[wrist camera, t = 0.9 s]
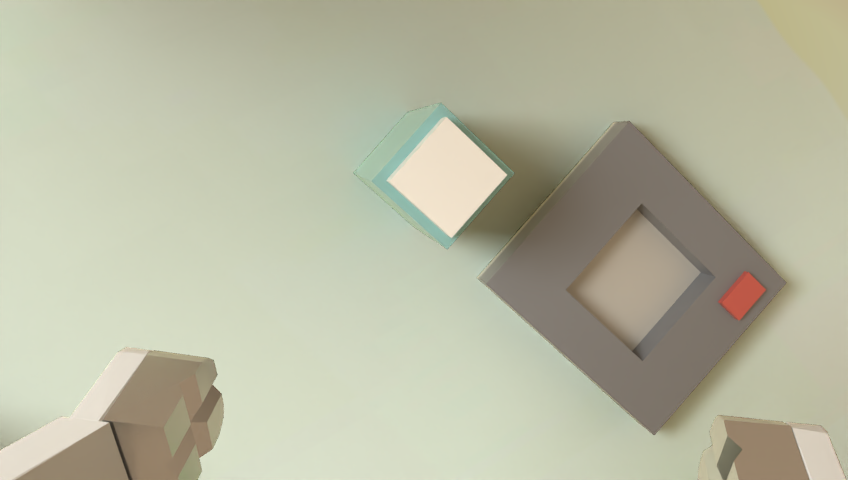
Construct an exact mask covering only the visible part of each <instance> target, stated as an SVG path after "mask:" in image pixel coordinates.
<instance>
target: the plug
mask: <svg viewBox="0 0 848 480" xmlns="http://www.w3.org/2000/svg"><path fill="white" fill-rule="evenodd" d="M354 174H355V175H356V176H357V177H358V178H359V179H360V180H362V181H363V182H364V183H365V184H366V185H367V186H368V187H369V188H370V189H372V190H373V191H374V192H375V193H376V194H377V195H378V196H379V197H381V198H382V199H383V200H384V201H385V202H386V203H387V204H388V205H389V206H391V207H392V208H393V209H394V210H395V211H396V212H397V213H398V214H400V215H401V216H402V217H403V218H404V219H405V220H406V221H407V222H408V223H410V224H411V225H412V226H413V227H414V228H416V229H417V230H419V231H420V232H422V233H423V234H425V235H426V236H428V237H429V238H431V239H432V240H434V241H435V242H437V243H438V244H440V245H441V246H443V247H444V248H446V249H448V248H449V247H450V246H451V245H452V244H453V242H454V241H455V240H456V239H457V238H458V237H459V236H460V235H461V233H462V232H463V231H464V230H465V229H466V228H467V227H468V225H469V224H470V223H471V222H472V221H473V220H474V219H475V218H476V216H477V215H478V214H479V213H480V212H481V211H482V210H483V208H484V207H485V206H486V205H487V204H488V203H489V202H490V201H491V199H492V198H493V197H494V196H495V195H496V194H497V193H498V191H499V190H500V189H501V188H502V187H503V186H504V185H505V184H506V182H507V181H508V180H509V179H510V178H511V177H512V176H513V174H514V172H513V171H512V170H511V169H510V168H509V167H508V166H507V165H506V164H505V163H504V162H502V161H501V160H500V159H499V158H498V157H497V156H496V155H495V154H494V153H493V152H492V151H491V150H490V149H489V148H488V147H487V146H486V145H485V144H484V143H483V142H482V141H481V140H480V139H478V138H477V137H476V136H475V135H474V134H473V133H472V132H471V131H470V130H469V129H468V128H467V127H466V126H465V125H464V124H463V123H462V122H461V121H460V120H459V119H458V118H457V117H455V116H454V115H453V114H452V113H451V112H450V111H449V110H448V109H447V108H446V107H445V106H444V105H443V104H442V103H438V104H434V105H431V106H427V107H424V108H420V109H416V110H413V111H409V112H407V113H406V114H405V115H404V117H403V118H402V119H401V120H400V121H399V122H398V123H397V124H396V126H395V127H394V128H393V129H392V130H391V131H390V132H389V133H388V135H387V136H386V137H385V138H384V139H383V140H382V141H381V142H380V144H379V145H378V146H377V147H376V148H375V149H374V150H373V151H372V153H371V154H370V155H369V156H368V157H367V158H366V159H365V160H364V162H363V163H362V164H361V165H360V166H359V167H358V168H357V169H356V171H355V172H354Z"/></svg>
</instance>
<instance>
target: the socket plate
mask: <svg viewBox="0 0 848 480" xmlns="http://www.w3.org/2000/svg"><path fill="white" fill-rule="evenodd" d="M477 278H478V279H479V280H480V281H481V282H482V283H483V284H484V285H485V286H486V287H488V288H489V289H490V290H491V291H492V292H493V293H494V294H495V295H497V296H498V297H499V298H500V299H501V300H502V301H503V302H504V303H505V304H507V305H508V306H509V307H510V308H511V309H512V310H513V311H514V312H515V313H517V314H518V315H519V316H520V317H521V318H522V319H523V320H524V321H525V322H527V323H528V324H529V325H530V326H531V327H532V328H533V329H534V330H535V331H537V332H538V333H539V334H540V335H541V336H542V337H543V338H544V339H546V340H547V341H548V342H549V343H550V344H551V345H552V346H553V347H554V348H556V349H557V350H558V351H559V352H560V353H561V354H562V355H563V356H564V357H566V358H567V359H568V360H569V361H570V362H571V363H572V364H573V365H574V366H576V367H577V368H578V369H579V370H580V371H581V372H582V373H583V374H585V375H586V376H587V377H588V378H589V379H590V380H591V381H592V382H593V383H595V384H596V385H597V386H598V387H599V388H600V389H601V390H602V391H603V392H605V393H606V394H607V395H608V396H609V397H610V398H611V399H612V400H613V401H615V402H616V403H617V404H618V405H619V406H620V407H621V408H622V409H624V410H625V411H626V412H627V413H628V414H629V415H630V416H631V417H632V418H634V419H635V420H636V421H637V422H638V423H639V424H640V425H642V426H643V427H644V428H645V429H647V430H648V431H649V432H650V433H652V434H653V435H655V434H656V433H657V432H658V431H659V429H660V428H661V427H662V426H663V425H664V424H665V422H666V421H667V420H668V419H669V418H670V417H671V415H672V414H673V413H674V412H675V411H676V410H677V409H678V407H679V406H680V405H681V404H682V403H683V402H684V400H685V399H686V398H687V397H688V396H689V395H690V394H691V392H692V391H693V390H694V389H695V388H696V387H697V385H698V384H699V383H700V382H701V381H702V380H703V379H704V377H705V376H706V375H707V374H708V373H709V372H710V370H711V369H712V368H713V367H714V366H715V365H716V364H717V362H718V361H719V360H720V359H721V358H722V357H723V355H724V354H725V353H726V352H727V351H728V350H729V349H730V347H731V346H732V345H733V344H734V343H735V342H736V340H737V339H738V338H739V337H740V336H741V335H742V334H743V332H744V331H745V330H746V329H747V328H748V327H749V325H750V324H751V323H752V322H753V321H754V320H755V319H756V317H757V316H758V315H759V314H760V313H761V312H762V310H763V309H764V308H765V307H766V306H767V305H768V304H769V302H770V301H771V300H772V299H773V298H774V297H775V295H776V294H777V293H778V292H779V291H780V290H781V289H782V287H783V286H784V285H785V284H786V282H785V281H784V280H783V279H782V278H781V277H780V276H779V275H778V274H777V272H776V271H775V270H774V269H773V268H772V267H771V266H770V265H769V264H768V263H767V262H766V261H765V260H764V259H763V258H762V257H761V256H760V255H759V254H758V253H757V252H756V251H755V250H754V249H753V248H752V247H751V246H750V245H749V244H748V243H747V242H746V241H745V240H744V238H743V237H742V236H741V235H740V234H739V233H738V232H737V231H736V230H735V229H734V228H733V227H732V226H731V225H730V224H729V223H728V222H727V221H726V220H725V219H724V218H723V217H722V216H721V215H720V214H719V213H718V212H717V211H716V210H715V209H714V208H713V207H712V206H711V205H710V203H709V202H708V201H707V200H706V199H705V198H704V197H703V196H702V195H701V194H700V193H699V192H698V191H697V190H696V189H695V188H694V187H693V186H692V185H691V184H690V183H689V182H688V181H687V180H686V179H685V178H684V177H683V176H682V175H681V174H680V173H679V172H678V171H677V169H676V168H675V167H674V166H673V165H672V164H671V163H670V162H669V161H668V160H667V159H666V158H665V157H664V156H663V155H662V154H661V153H660V152H659V151H658V150H657V149H656V148H655V147H654V146H653V145H652V144H651V143H650V142H649V141H648V140H647V139H646V138H645V137H644V136H643V134H642V133H641V132H640V131H639V130H638V129H637V128H636V127H635V126H634V125H633V124H632V123H631V122H630V121H623V122H613V124H612V125H611V126H610V127H609V128H608V129H607V130H606V131H605V133H604V134H603V135H602V136H601V137H600V138H599V139H598V141H597V142H596V143H595V144H594V145H593V146H592V147H591V149H590V150H589V151H588V152H587V153H586V154H585V155H584V156H583V158H582V159H581V160H580V161H579V162H578V163H577V164H576V166H575V167H574V168H573V169H572V170H571V171H570V172H569V174H568V175H567V176H566V177H565V178H564V179H563V180H562V181H561V183H560V184H559V185H558V186H557V187H556V188H555V189H554V191H553V192H552V193H551V194H550V195H549V196H548V197H547V199H546V200H545V201H544V202H543V203H542V204H541V205H540V206H539V208H538V209H537V210H536V211H535V212H534V213H533V214H532V216H531V217H530V218H529V219H528V220H527V221H526V222H525V224H524V225H523V226H522V227H521V228H520V229H519V230H518V231H517V233H516V234H515V235H514V236H513V237H512V238H511V239H510V241H509V242H508V243H507V244H506V245H505V246H504V247H503V249H502V250H501V251H500V252H499V253H498V254H497V255H496V256H495V258H494V259H493V260H492V261H491V262H490V263H489V264H488V266H487V267H486V268H485V269H484V270H483V271H482V272H481V274H480V275H479V276H478V277H477Z"/></svg>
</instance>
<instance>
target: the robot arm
mask: <svg viewBox="0 0 848 480" xmlns="http://www.w3.org/2000/svg"><path fill="white" fill-rule="evenodd" d="M216 377H217V371H216V367H215V363H214V360H212V359H210V358H206V357H199V356H191V355H184V354H177V353H170V352H163V351H156V350H154V351H152V350H144V349H137V348H130V347H125V348H124V349H122V350H120V351H119V352H117V354H116V355H115V356H114V358H113V359H112V360H111V362H110V363H109V364H108V366H107V367H106V369H105V370H104V371H103V373H102V374H101V375H100V377H99V378H98V379H97V381H96V382H95V383H94V385H93V386H92V387H91V389H90V390H89V392H88V393H87V394H86V396H85V397H84V398H83V400H82V401H81V402H80V404H79V405H78V406H77V408H76V409H75V411H74V412H73V413H72V415H71V416H70V417H63V416H61V417H59V418H57V419H56V420H54V421H52V422H50V423H48V424H47V425H45V426H43V427H41V428H39V429H38V430H36V431H34V432H32V433H30V434H29V435H27V436H25V437H23V438H21V439H20V440H18V441H16V442H14V443H12V444H11V445H9V446H7V447H5V448H3V449H2V450H0V480H198V478H199V476H200V474H201V472H202V468H201V464H200V459H199V458H200V457H201V456H203V455H204V454H206V453H207V452H209V451H210V450H212V449H213V447H214V445H215V443H216V441H217V439H218V437H219V435H220V430H221V426H222V422H223V418H224V404H223V398H222V394H221V393H220V392H219V391H218V390H217V389H216V388H215V387H214V386H213V385H212V384H213V382H214V380H215V379H216ZM710 437H711V441H712V446H710V447H709V448H707V449H706V450H704V451H703V453H702V457H701V460H700V464H699V469H698V480H846V477H845V475H844V472H843V470H842V467H841V465H840V462H839V460H838V457H837V455H836V452H835V450H834V448H833V445H832V443H831V440H830V438H829V435H828V433H827V431H826V430H825V429H824V428H823V427H822V426H820V425H810V424H800V423H791V422H786V423H784V422H781V421H772V420H762V419H752V418H743V417H733V416H723V415H717V417H716V418H715V419H714V420H713V423H712V426H711V429H710Z"/></svg>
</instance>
